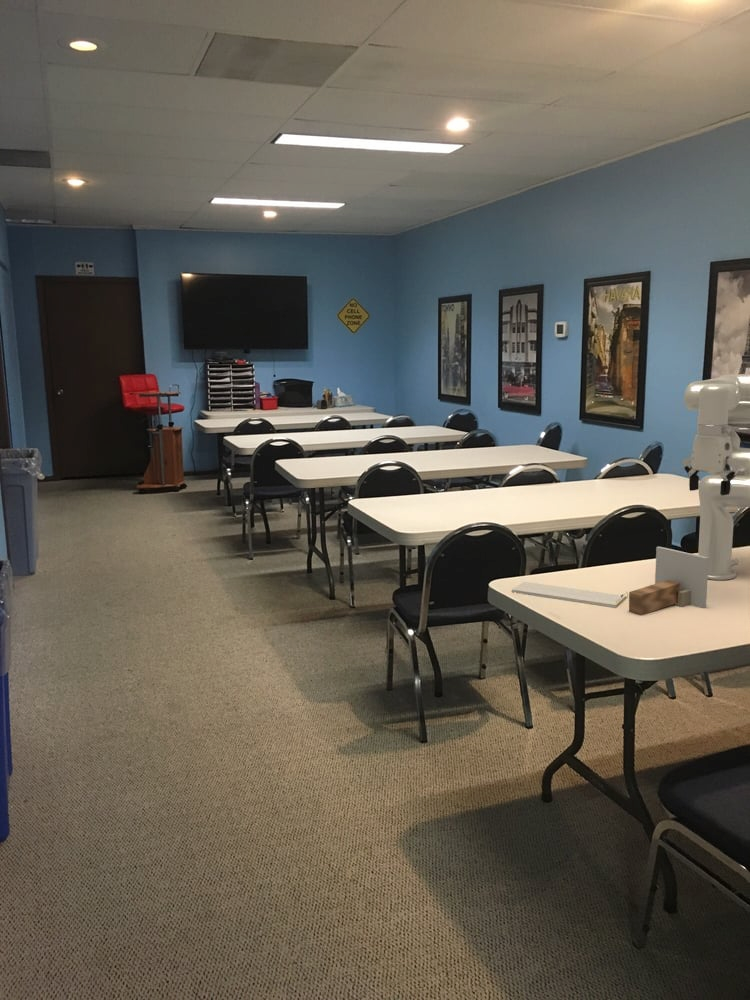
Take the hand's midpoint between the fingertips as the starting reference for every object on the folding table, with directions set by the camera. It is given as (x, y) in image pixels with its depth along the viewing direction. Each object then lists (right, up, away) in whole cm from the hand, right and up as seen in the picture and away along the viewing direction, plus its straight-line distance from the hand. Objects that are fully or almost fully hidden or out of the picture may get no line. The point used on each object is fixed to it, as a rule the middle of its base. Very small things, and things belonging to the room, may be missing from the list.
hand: (709, 492), depth 216 cm
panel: (-9, -31, +2) cm, 32 cm away
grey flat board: (-36, -31, +11) cm, 49 cm away
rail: (-16, -31, -3) cm, 35 cm away
